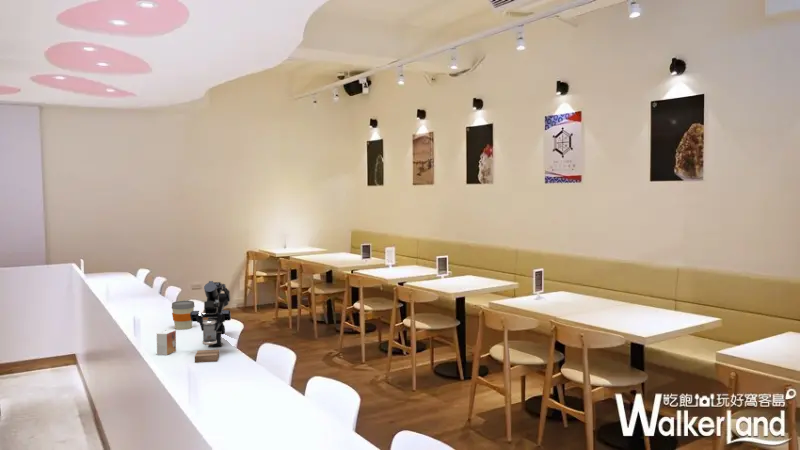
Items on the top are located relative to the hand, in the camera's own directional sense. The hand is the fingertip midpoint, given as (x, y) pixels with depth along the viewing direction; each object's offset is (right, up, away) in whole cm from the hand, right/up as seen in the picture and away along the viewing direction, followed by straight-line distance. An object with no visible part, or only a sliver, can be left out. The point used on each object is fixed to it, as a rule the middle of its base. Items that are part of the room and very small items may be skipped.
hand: (209, 330), depth 285 cm
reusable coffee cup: (-34, -9, +58) cm, 68 cm away
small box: (-23, -12, +5) cm, 26 cm away
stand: (+1, -13, -5) cm, 14 cm away
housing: (0, -7, +2) cm, 7 cm away
